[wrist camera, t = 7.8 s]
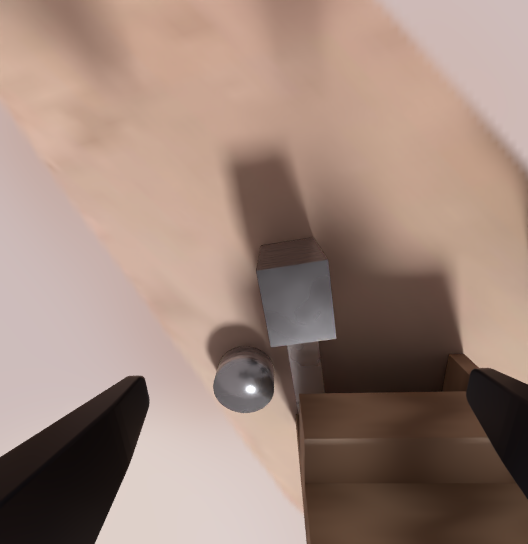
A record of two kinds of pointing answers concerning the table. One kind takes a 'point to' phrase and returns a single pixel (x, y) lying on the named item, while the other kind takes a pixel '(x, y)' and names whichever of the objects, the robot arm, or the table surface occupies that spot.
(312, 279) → the grey mallet
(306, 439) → the plinth cabinet
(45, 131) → the table surface
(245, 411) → the steel token
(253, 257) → the table surface
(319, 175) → the table surface
